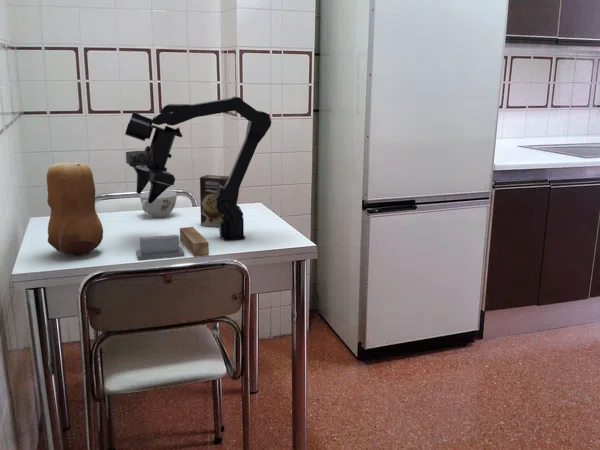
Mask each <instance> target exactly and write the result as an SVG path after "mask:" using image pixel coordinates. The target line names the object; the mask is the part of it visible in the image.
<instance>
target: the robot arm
mask: <svg viewBox="0 0 600 450" xmlns="http://www.w3.org/2000/svg"><path fill="white" fill-rule="evenodd" d="M228 112H236V113H237V114H239V115H240V116H242V118H244V119H246V120H247V121H248V122H247V126H246V132H245V137H244V140H243V142H242V146H241V147H240V150H239V152H238V155H237V157H236V159H235V162H234V165H233V166H232V169H231V172H230V174H229V178H228V181H227V182H226V183H225V185H224V186H221V185H220V184H219V186H218V190H217V193H216V194H215V195H214V198H215V205H216V208H217V210H218V211H219V212H220V213H221V214H223V215H224V217H221V222H219V227H218V228H219V229H218V231H219V236H220V237H221V238H222V240H224V241H232V240H233V241H235V240H243V239H246V236H245V235H244V233H245V232H244V226H245V223H244V220H245V219H244V212H243V210H242V209H241V207H240V206H239V205H238V199H239V194H240V193H239V192H240V187H241V185H242V182H243V180H244V178H245V176H246V174H247V171H248V168H249V166H250V164H251V161H252V158H253V156H254V154H255V152H256V149H257V147H258V144H259V143H260V142H261V141H262V139H263V138H264V137H265V136H266V134H267V133H268V130H269V129H270V128H271V125H272V119H271V118H272V117H271V116H270V115H269V114H268V113H267V112H264V111H261V110H257V109H256V108H254V107H253V106H251V105H249V104H248V103H247V102H245V101H244V100H243V99H242V98H241V97H239V96H231V97H228V98H224V99H223V98H222V99H217V100H211V101H205V102H200V103H199V102H198V103H193V104H192V103H190V104H188V103H167V104H166V105H164V106H163V108H162V109H161V112H160V113H159V114H158V115H156V116H153V117H152V118H150V117H147V116H145V115H142V114H140V113H138V112H135V111H133V112H132V115H131V117H130V119H129V122H128V123H127V125H126V129H125V133H124V135H126V136H128V137H130V138H134V139H137V140H140V141H142V142H145V141H146V140H150V139H151V136H152V139H151V141H150V145H147V146H146V147H145V149H144V150H134V151H133V150H131V151H126V152H125V158H126V159H125V160H126V163H125V164H127V165H128V166H129V167H132V168H133V169H134V172H135V173H136V191H135V192H136V194H138V195H140V194H142V192H143V191H144V189H145V187H147V185H148V183H149V184H150V188H149V191H148V192H149V197H148V203H152V202H153V201H154V200H155V199H156V198H157V197H158V196H159V195H160V194H161V193H162V192H164V191H166V190H167V189H168V188H170V187H171V186H174V185H175V182H176V177H175V175H174V174H173V173H171V172H170V171H168V167H166V166H167V162H168V160H169V159H171V158H172V156H173V155H172V154H171V150H172V147H173V144H174V140H175V137H179V138H182V137H183V134H182V132H181V130H180V127H178V126H177V128H174V127H171V126H176V125H178V124H179V125H180V124H182V123H184V122H187V121H189V120H192V119H195V118H200V117H206V116H211V115H217V114H218V115H219V114H223V113H228ZM165 124H166V125H165ZM160 125H165V126H164V127H160ZM154 129H155V130H154ZM153 130H154V133H153ZM152 133H153V135H152ZM168 158H169V159H168Z"/></svg>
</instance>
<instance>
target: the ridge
mask: <svg viewBox="0 0 600 450" xmlns="http://www.w3.org/2000/svg"><path fill="white" fill-rule="evenodd" d="M139 246H140V247H139V248H140V249H139V250H138V249H137V250H135V253H136V256H137V260H138V261H146V260H148V261H149V260H158V259H167V258H177V257H185V251H184V250H183V247H182V246H180V235H178V234H171V235H170V234H169V235H156V236H142V237H139Z"/></svg>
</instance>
